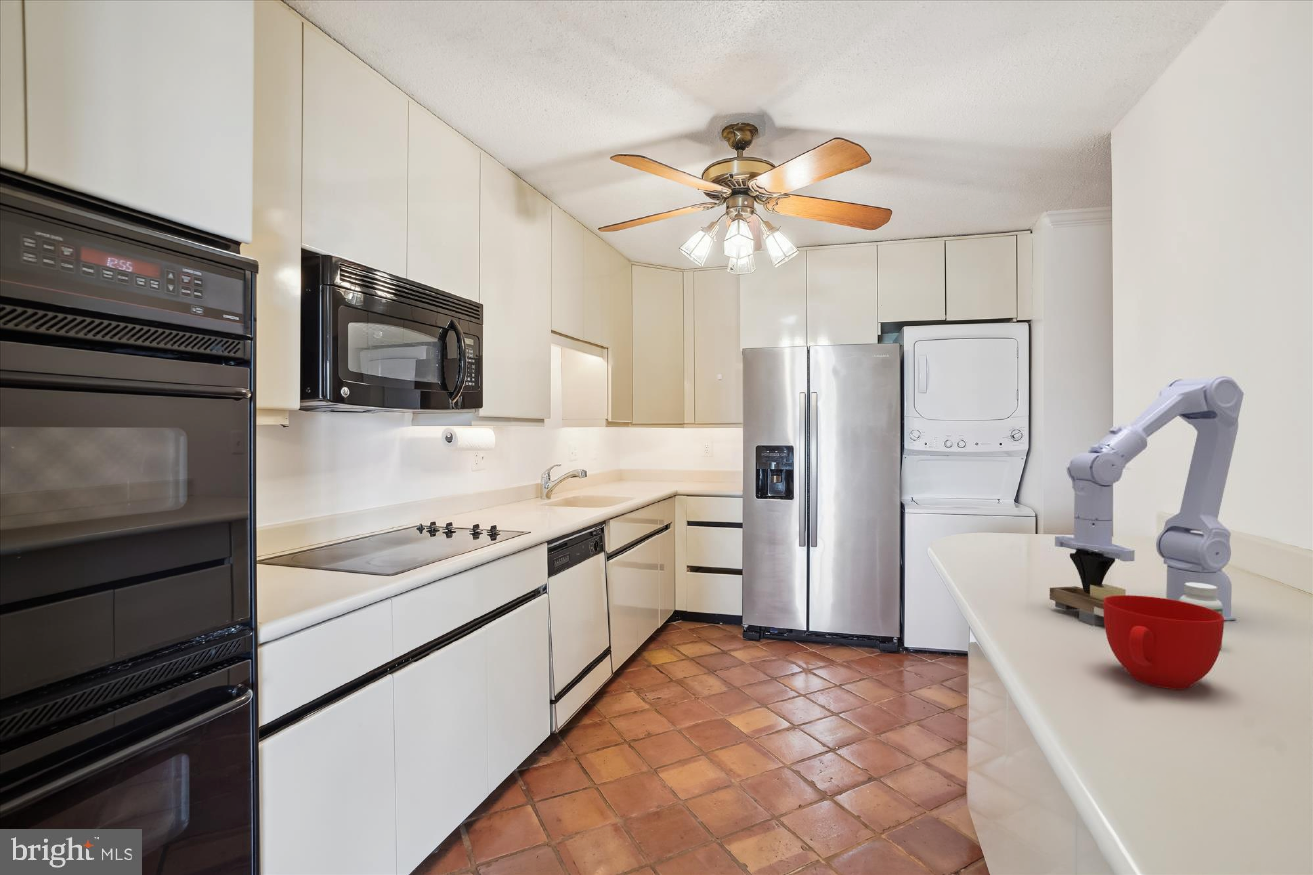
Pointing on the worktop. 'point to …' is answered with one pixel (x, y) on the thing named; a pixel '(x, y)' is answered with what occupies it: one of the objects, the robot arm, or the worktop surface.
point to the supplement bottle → (1202, 596)
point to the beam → (1078, 604)
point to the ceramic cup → (1163, 639)
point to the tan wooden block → (1105, 591)
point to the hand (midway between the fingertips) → (1091, 593)
